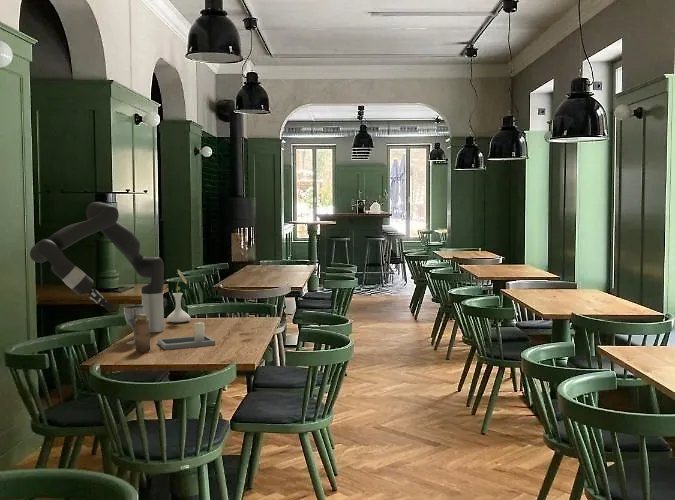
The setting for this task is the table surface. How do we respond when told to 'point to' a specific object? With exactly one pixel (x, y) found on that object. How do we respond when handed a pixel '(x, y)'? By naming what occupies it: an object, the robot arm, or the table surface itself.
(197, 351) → the table surface
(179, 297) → the flower in vase
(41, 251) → the robot arm
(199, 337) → the salt shaker
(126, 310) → the wine glass
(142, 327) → the brown bottle
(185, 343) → the condiment tray
